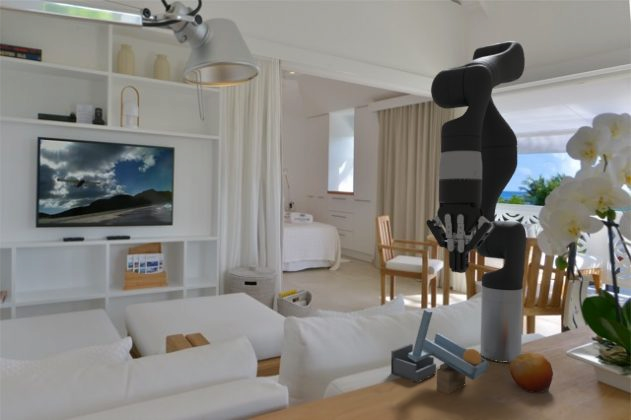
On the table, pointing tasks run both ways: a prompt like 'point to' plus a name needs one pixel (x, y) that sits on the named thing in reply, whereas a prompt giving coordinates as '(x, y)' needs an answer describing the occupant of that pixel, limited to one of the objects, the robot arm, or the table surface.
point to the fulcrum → (449, 379)
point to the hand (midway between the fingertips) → (458, 271)
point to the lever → (444, 351)
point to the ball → (472, 357)
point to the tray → (411, 364)
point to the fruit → (531, 372)
